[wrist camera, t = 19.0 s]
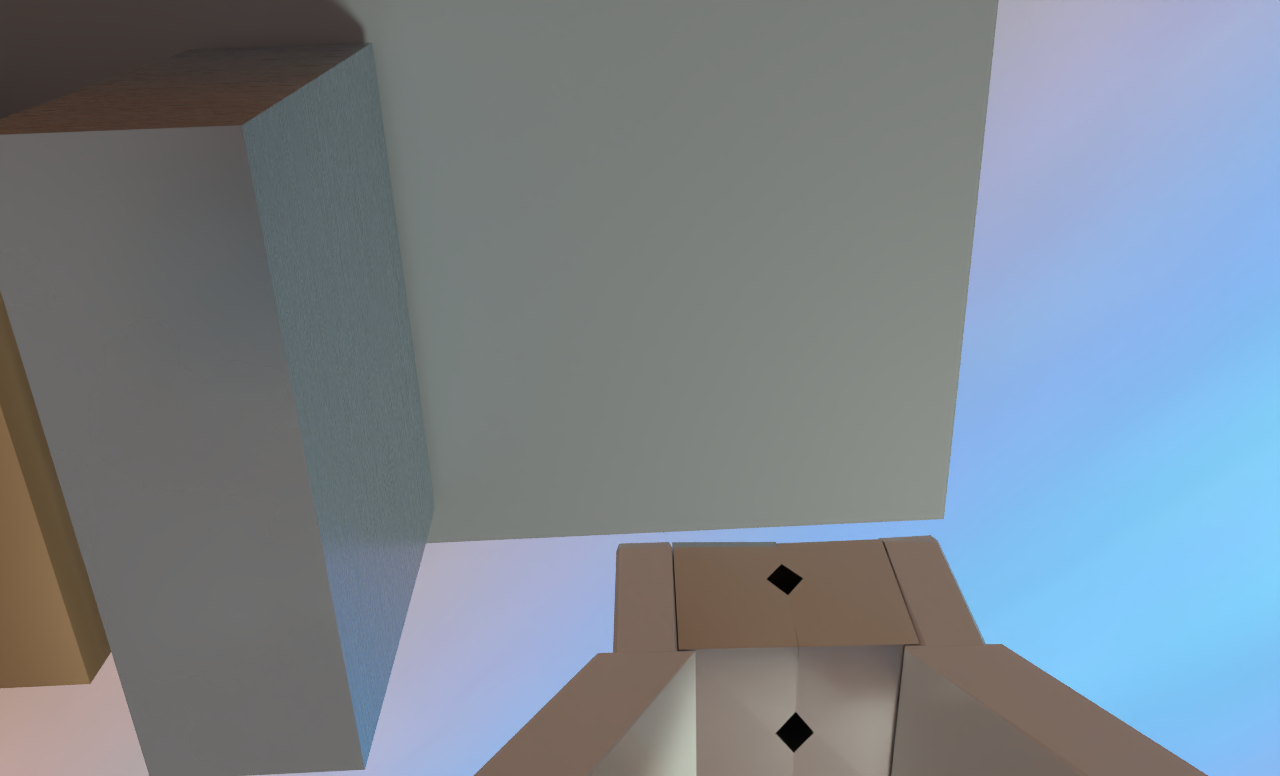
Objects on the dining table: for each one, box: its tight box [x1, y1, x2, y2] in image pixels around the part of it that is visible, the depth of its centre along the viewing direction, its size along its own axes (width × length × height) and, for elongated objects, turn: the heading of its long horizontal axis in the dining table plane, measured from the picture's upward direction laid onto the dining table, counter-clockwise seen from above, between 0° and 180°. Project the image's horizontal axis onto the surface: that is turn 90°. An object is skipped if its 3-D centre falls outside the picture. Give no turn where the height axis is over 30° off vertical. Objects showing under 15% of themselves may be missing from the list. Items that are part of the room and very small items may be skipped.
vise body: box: [0, 0, 998, 543], centre depth 17 cm, size 22×11×9 cm, turn 92°
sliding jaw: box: [0, 42, 435, 776], centre depth 16 cm, size 4×9×7 cm, turn 2°
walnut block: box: [0, 291, 111, 688], centre depth 16 cm, size 4×6×7 cm, turn 2°
